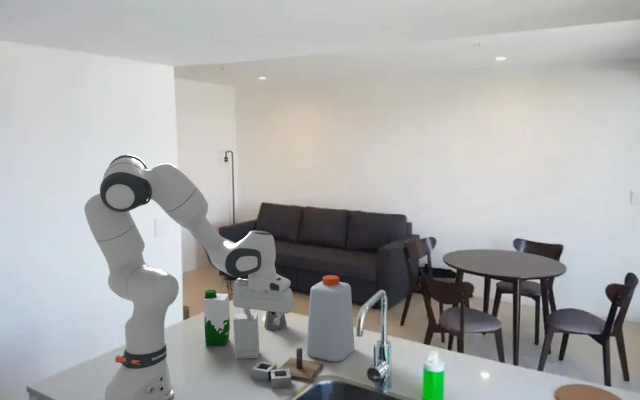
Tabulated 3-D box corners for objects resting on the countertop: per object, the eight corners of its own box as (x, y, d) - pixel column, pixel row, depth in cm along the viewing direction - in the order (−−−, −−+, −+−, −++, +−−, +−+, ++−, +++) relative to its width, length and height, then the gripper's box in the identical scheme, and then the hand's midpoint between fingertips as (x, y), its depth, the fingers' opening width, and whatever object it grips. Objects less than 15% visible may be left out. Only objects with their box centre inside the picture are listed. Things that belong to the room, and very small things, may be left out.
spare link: (291, 388, 150) (291, 377, 150) (271, 389, 149) (271, 378, 149) (289, 378, 156) (289, 368, 156) (270, 380, 155) (270, 369, 155)
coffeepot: (266, 320, 207) (266, 279, 205) (288, 321, 207) (288, 279, 204) (260, 335, 192) (260, 290, 190) (284, 335, 191) (284, 291, 189)
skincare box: (259, 351, 177) (259, 312, 175) (258, 359, 171) (257, 318, 169) (236, 352, 176) (235, 312, 174) (234, 359, 170) (233, 318, 168)
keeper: (309, 381, 154) (309, 359, 153) (275, 375, 159) (275, 353, 158) (322, 365, 165) (322, 344, 165) (290, 360, 170) (290, 339, 169)
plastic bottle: (321, 340, 186) (321, 269, 183) (358, 348, 179) (358, 274, 176) (302, 356, 173) (301, 279, 169) (340, 365, 166) (341, 285, 163)
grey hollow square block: (268, 382, 154) (268, 372, 153) (251, 379, 156) (251, 368, 156) (276, 374, 159) (276, 364, 159) (260, 371, 162) (260, 361, 161)
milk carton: (208, 337, 189) (207, 287, 187) (231, 337, 189) (230, 287, 186) (202, 347, 180) (201, 294, 178) (227, 347, 180) (225, 295, 178)
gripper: (228, 280, 155) (229, 322, 157) (287, 287, 148) (287, 330, 150) (238, 275, 161) (239, 315, 163) (295, 281, 154) (296, 323, 155)
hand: (263, 322), depth 156 cm, fingers open, 8 cm apart
